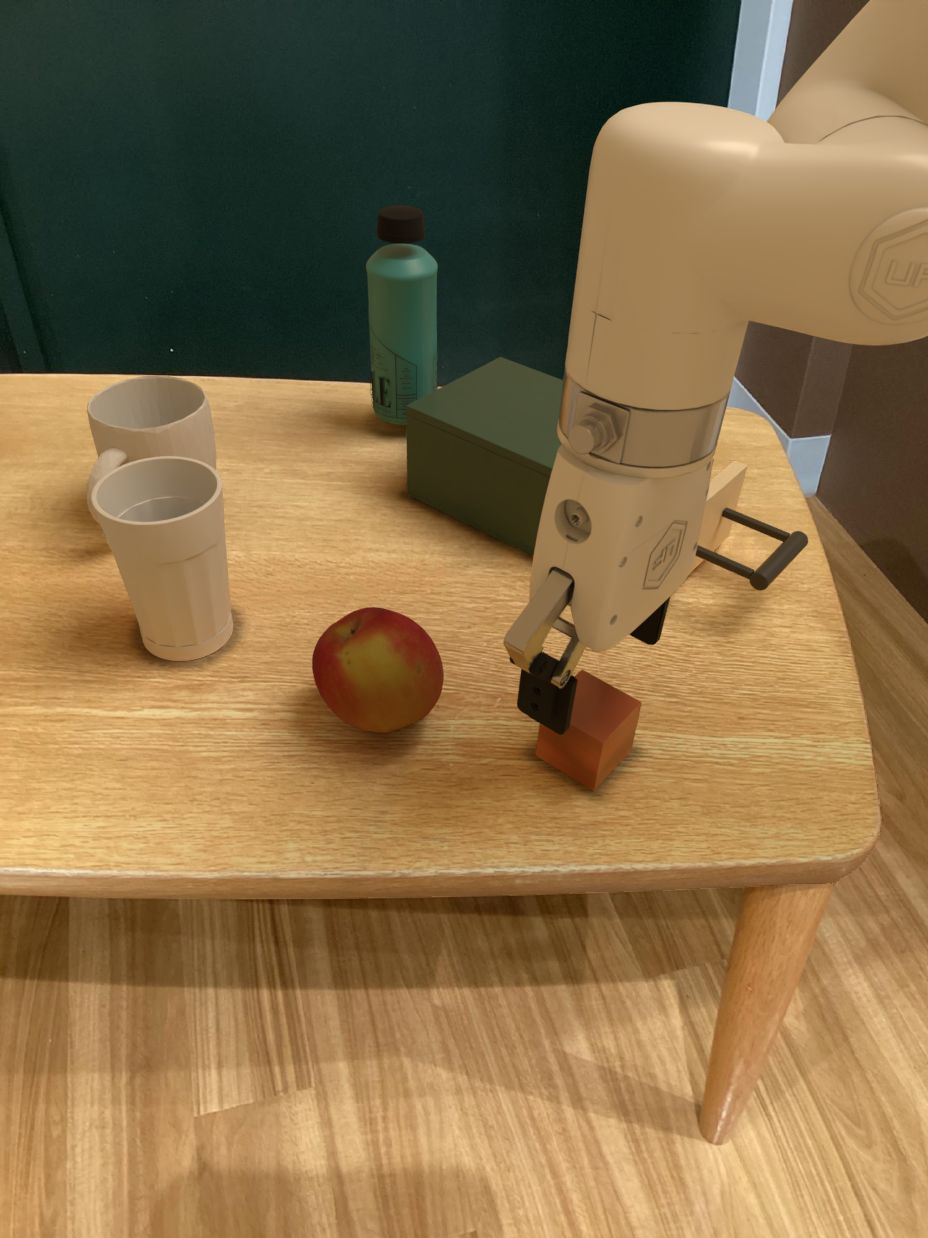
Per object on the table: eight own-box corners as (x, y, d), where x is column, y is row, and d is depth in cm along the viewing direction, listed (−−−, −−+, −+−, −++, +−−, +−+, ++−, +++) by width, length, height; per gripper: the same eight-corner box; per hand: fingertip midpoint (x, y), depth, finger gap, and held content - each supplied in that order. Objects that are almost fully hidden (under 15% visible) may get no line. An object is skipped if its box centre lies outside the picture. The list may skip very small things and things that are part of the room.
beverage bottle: (450, 419, 91) (455, 206, 78) (412, 447, 87) (411, 227, 74) (396, 401, 94) (392, 192, 81) (356, 427, 89) (346, 211, 76)
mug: (156, 472, 82) (133, 366, 75) (244, 493, 80) (229, 386, 73) (61, 550, 73) (26, 438, 66) (159, 577, 71) (132, 463, 64)
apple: (388, 657, 65) (385, 566, 59) (464, 722, 60) (468, 630, 55) (296, 707, 61) (285, 614, 56) (371, 781, 56) (366, 687, 51)
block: (631, 750, 59) (642, 702, 56) (593, 792, 56) (603, 743, 53) (574, 717, 61) (582, 669, 58) (535, 756, 58) (541, 707, 55)
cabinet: (625, 497, 81) (641, 409, 76) (542, 562, 74) (552, 468, 68) (495, 441, 88) (500, 356, 82) (406, 495, 80) (405, 405, 75)
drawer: (806, 570, 72) (831, 496, 68) (740, 642, 66) (763, 566, 61) (591, 477, 82) (601, 408, 77) (514, 533, 75) (520, 460, 71)
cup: (263, 607, 68) (243, 467, 60) (212, 679, 62) (183, 534, 55) (166, 587, 70) (134, 447, 62) (108, 655, 64) (64, 510, 56)
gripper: (609, 517, 36) (559, 796, 47) (793, 375, 46) (717, 631, 57) (460, 449, 39) (446, 724, 50) (663, 331, 50) (615, 580, 61)
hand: (590, 674), depth 54 cm, fingers open, 9 cm apart
